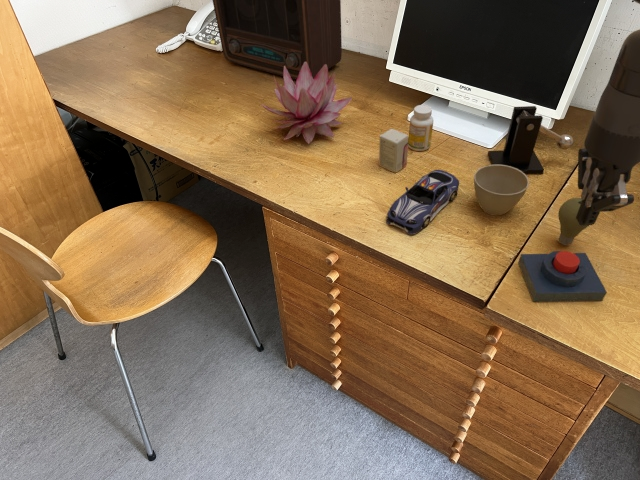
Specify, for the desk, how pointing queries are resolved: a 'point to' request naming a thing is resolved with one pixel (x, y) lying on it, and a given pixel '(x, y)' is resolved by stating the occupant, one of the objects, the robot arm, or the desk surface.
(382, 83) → the desk surface
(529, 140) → the black lever stand
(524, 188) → the beige bowl
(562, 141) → the grey rod with ball
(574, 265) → the button
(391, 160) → the small box
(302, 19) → the radio
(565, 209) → the light bulb
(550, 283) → the control block
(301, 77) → the decorative flower
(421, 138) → the supplement bottle
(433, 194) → the toy car
